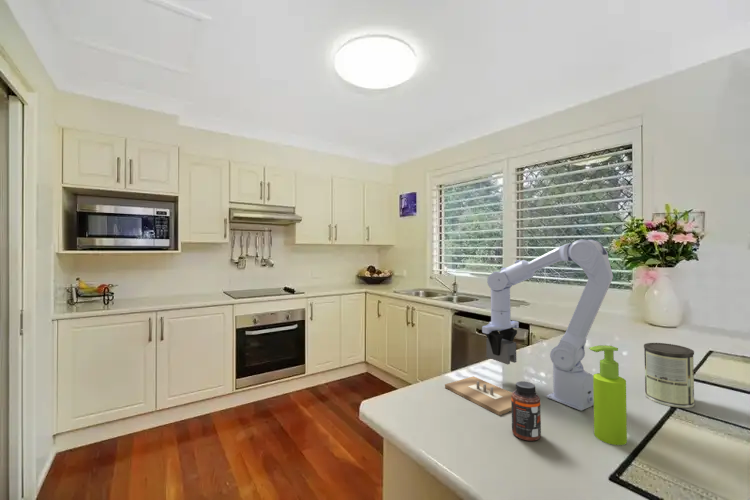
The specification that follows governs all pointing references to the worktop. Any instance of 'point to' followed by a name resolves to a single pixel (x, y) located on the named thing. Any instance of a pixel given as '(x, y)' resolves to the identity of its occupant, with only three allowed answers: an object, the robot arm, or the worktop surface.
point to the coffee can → (669, 374)
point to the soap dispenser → (609, 399)
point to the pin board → (483, 394)
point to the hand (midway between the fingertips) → (501, 353)
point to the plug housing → (503, 352)
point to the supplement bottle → (526, 412)
